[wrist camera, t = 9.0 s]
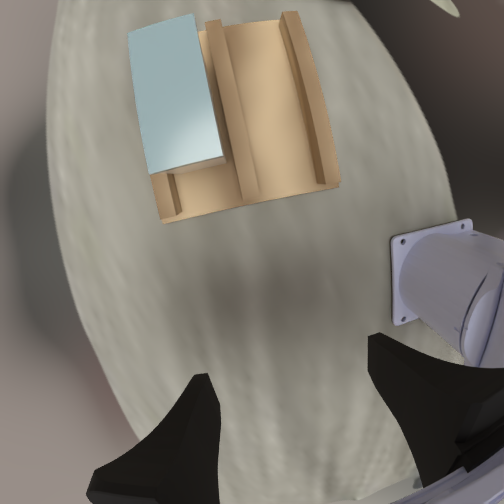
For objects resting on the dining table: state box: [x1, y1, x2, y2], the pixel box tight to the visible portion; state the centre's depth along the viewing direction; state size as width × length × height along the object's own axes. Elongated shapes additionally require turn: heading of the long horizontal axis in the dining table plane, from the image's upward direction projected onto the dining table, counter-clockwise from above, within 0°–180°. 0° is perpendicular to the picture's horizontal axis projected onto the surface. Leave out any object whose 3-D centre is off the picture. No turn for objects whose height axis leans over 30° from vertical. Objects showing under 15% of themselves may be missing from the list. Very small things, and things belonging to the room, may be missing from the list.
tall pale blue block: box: [127, 13, 227, 175], centre depth 13 cm, size 3×7×7 cm, turn 11°
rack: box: [150, 11, 341, 224], centre depth 16 cm, size 12×13×3 cm
